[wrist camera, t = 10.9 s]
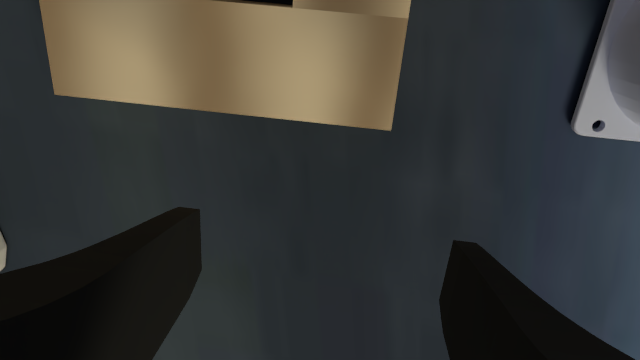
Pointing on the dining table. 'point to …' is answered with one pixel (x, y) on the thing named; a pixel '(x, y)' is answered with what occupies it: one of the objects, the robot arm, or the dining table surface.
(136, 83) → the pocket block
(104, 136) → the dining table surface
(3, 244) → the white cup
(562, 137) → the dining table surface
